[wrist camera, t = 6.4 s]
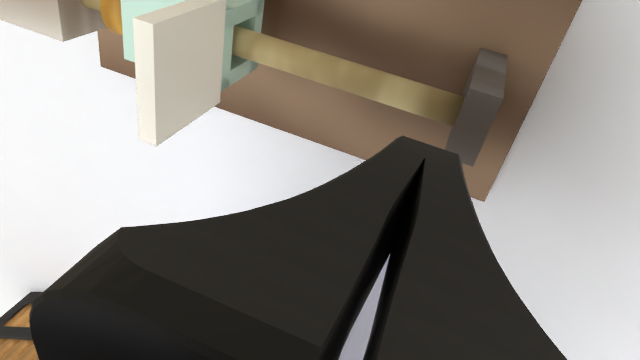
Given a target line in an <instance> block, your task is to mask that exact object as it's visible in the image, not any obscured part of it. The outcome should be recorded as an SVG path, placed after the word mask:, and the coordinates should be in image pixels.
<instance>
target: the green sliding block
mask: <svg viewBox="0 0 640 360" xmlns="http://www.w3.org/2000/svg"><path fill="white" fill-rule="evenodd" d="M263 9H264V0H121V16H122V32H123V47H124V59H126V60H129V61H132V62H135V74H136V94H137V114H138V134H139V140H141V141H143V142H146V143H148V144H151V145H154V146H158V145H159V144H160V143H162V142H163V141H165V140H166V139H168V138H169V137H171V136H172V135H174V134H175V133H176V132H178V131H179V130H181V129H182V128H184V127H185V126H187V125H188V124H189V123H191V122H192V121H194V120H195V119H197V118H198V117H200V116H201V115H202V114H204V113H205V112H207V111H208V110H210V109H211V108H213V107H214V106H216V105H217V104H218V103H220V94H221V92H222V91H223V90H225V89H226V88H228V87H229V86H231V85H232V84H234V83H235V82H237V81H238V80H240V79H241V78H243V77H244V76H246V75H247V74H249V73H251V72H252V71H254V70H255V69H257V65H258V63H257V62H254V61H251V60H248V59H245V58H242V57H239V56H235V55H232V43H233V29H234V25H236V26H239V27H242V28H246V29H249V30H252V31H255V32H258V33H261V28H262V18H263Z"/></svg>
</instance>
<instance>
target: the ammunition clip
mask: <svg viewBox="0 0 640 360" xmlns="http://www.w3.org/2000/svg"><path fill="white" fill-rule="evenodd" d="M42 293H43V292H30V293H29V294H28V295H27V296H25V297H24V298H23V299H22V300H21V301H19V302H18V303H17V304H16V305H15V306H14V307H12V308H11V309H10V310H9V311H8V312H6V313H5V314H4V315H3V316H2V317H0V360H39V358H38V355H37V352H36V349H35V346H34V343H33V340H32V336H31V330H30V323H29V314H30V310H31V307H32V304H33V301H34V300H35V299H36V298H37V297H38V296H39V295H41V294H42Z"/></svg>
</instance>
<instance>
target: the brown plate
mask: <svg viewBox="0 0 640 360" xmlns="http://www.w3.org/2000/svg"><path fill="white" fill-rule="evenodd" d="M581 1H582V0H264V9H263V18H262V28H261V33H258V32H255V31H252V30H249V29H246V28H242V27H239V26H236V25H234V29H233V43H232V55H235V56H239V57H242V58H245V59H248V60H251V61H254V62H257V63H258V65H257V69H255V70H254V71H252V72H251V73H249V74H247V75H246V76H244V77H243V78H241V79H240V80H238V81H237V82H235V83H234V84H232V85H231V86H229V87H228V88H226V89H225V90H223V91H222V92H221V94H220V103H218V104H217V105H216V106H214V107H217V108H220V109H223V110H226V111H229V112H231V113H234V114H237V115H240V116H243V117H246V118H248V119H251V120H254V121H257V122H260V123H263V124H265V125H268V126H271V127H274V128H277V129H280V130H282V131H285V132H288V133H291V134H294V135H297V136H299V137H302V138H305V139H308V140H311V141H314V142H316V143H319V144H322V145H325V146H328V147H331V148H333V149H336V150H339V151H342V152H345V153H348V154H350V155H353V156H356V157H359V158H362V159H365V160H368V159H369V158H371V157H372V156H374V155H375V154H377V153H378V152H379V151H381V150H382V149H384V148H385V147H386V146H388V145H389V144H390V143H391V142H393V141H394V140H395V139H396V138H398V137H400V136H406V137H409V138H412V139H414V140H417V141H420V142H423V143H426V144H429V145H432V146H435V147H438V148H441V149H444V150H447V151H450V152H453V153H456V154H459V157H460V159H461V161H462V167H463V172H464V177H465V180H466V184H467V188H468V191H469V194H470V197H472V198H475V199H478V200H481V201H485V199H486V197H487V195H488V193H489V191H490V189H491V187H492V185H493V183H494V181H495V178H496V176H497V174H498V172H499V170H500V168H501V166H502V164H503V162H504V160H505V158H506V156H507V154H508V152H509V150H510V148H511V145H512V143H513V141H514V139H515V137H516V135H517V133H518V131H519V129H520V127H521V125H522V123H523V121H524V119H525V117H526V115H527V113H528V110H529V108H530V106H531V104H532V102H533V100H534V98H535V96H536V94H537V92H538V90H539V88H540V86H541V84H542V82H543V80H544V78H545V75H546V73H547V71H548V69H549V67H550V65H551V63H552V61H553V59H554V57H555V55H556V53H557V51H558V49H559V47H560V45H561V43H562V40H563V38H564V36H565V34H566V32H567V30H568V28H569V26H570V24H571V22H572V20H573V18H574V16H575V14H576V12H577V10H578V7H579V5H580V3H581ZM0 20H2V21H5V22H8V23H11V24H14V25H17V26H20V27H23V28H25V29H28V30H31V31H34V32H37V33H40V34H43V35H46V36H48V37H51V38H54V39H57V40H60V41H67V40H70V39H73V38H76V37H79V36H82V35H85V34H88V33H91V32H94V31H97V30H98V40H99V51H100V62H101V67H104V68H107V69H110V70H112V71H115V72H118V73H121V74H124V75H127V76H129V77H132V78H135V79H136V74H135V62H132V61H129V60H126V59H124V47H123V32H122V16H121V0H0Z"/></svg>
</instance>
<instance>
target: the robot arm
mask: <svg viewBox="0 0 640 360" xmlns="http://www.w3.org/2000/svg"><path fill="white" fill-rule="evenodd" d="M29 323H30V330H31V336H32V340H33V343H34V346H35V349H36V352H37V355H38V358H39V360H567V359H566V358H565V356H564V355H563V354H562V353H561V352H560V351H559V349H558V348H557V347H556V346H555V344H554V343H553V342H552V341H551V339H550V338H549V337H548V336H547V334H546V333H545V332H544V331H543V329H542V328H541V327H540V325H539V324H538V322H537V321H536V320H535V318H534V317H533V316H532V314H531V313H530V311H529V310H528V309H527V307H526V306H525V304H524V303H523V302H522V300H521V299H520V297H519V296H518V294H517V293H516V291H515V290H514V288H513V287H512V285H511V284H510V282H509V280H508V279H507V277H506V275H505V273H504V272H503V270H502V268H501V267H500V265H499V263H498V261H497V260H496V258H495V256H494V254H493V252H492V250H491V248H490V245H489V243H488V241H487V239H486V237H485V234H484V232H483V230H482V227H481V225H480V222H479V220H478V217H477V215H476V212H475V209H474V206H473V203H472V201H471V198H470V194H469V191H468V188H467V184H466V180H465V177H464V172H463V167H462V161H461V159H460V157H459V154H456V153H453V152H450V151H447V150H444V149H441V148H438V147H435V146H432V145H429V144H426V143H423V142H420V141H417V140H414V139H412V138H409V137H406V136H400V137H398V138H396V139H395V140H394V141H393V142H391V143H390V144H389V145H388V146H386V147H385V148H384V149H382V150H381V151H379V152H378V153H377V154H375V155H374V156H372V157H371V158H369V159H368V160H366V161H364V162H363V163H361V164H360V165H358V166H356V167H355V168H353V169H351V170H350V171H348V172H346V173H344V174H342V175H340V176H338V177H337V178H335V179H333V180H331V181H329V182H327V183H325V184H323V185H321V186H319V187H316V188H314V189H312V190H310V191H307V192H305V193H302V194H300V195H297V196H295V197H292V198H289V199H287V200H283V201H280V202H276V203H273V204H269V205H266V206H262V207H259V208H255V209H251V210H248V211H243V212H239V213H234V214H229V215H224V216H219V217H213V218H207V219H201V220H194V221H187V222H178V223H168V224H157V225H147V226H136V227H121V228H120V229H119V230H117V231H116V232H115V233H113V234H112V235H111V236H109V237H108V238H107V239H105V240H104V241H103V242H101V243H100V244H98V245H97V246H96V247H95V248H93V249H92V250H91V251H90V252H89V253H88V254H87V255H86V256H84V257H83V258H82V259H81V260H80V261H79V262H78V263H76V264H75V265H74V266H73V267H72V268H71V269H69V270H68V271H67V272H66V273H65V274H64V275H62V276H61V277H60V278H59V279H58V280H57V281H56V282H54V283H53V284H52V285H51V286H50V287H49V288H47V289H46V290H45V291H44V292H43V293H42V294H41V295H39V296H38V297H37V298H36V299H35V300H34V301H33V304H32V307H31V310H30V314H29Z"/></svg>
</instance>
